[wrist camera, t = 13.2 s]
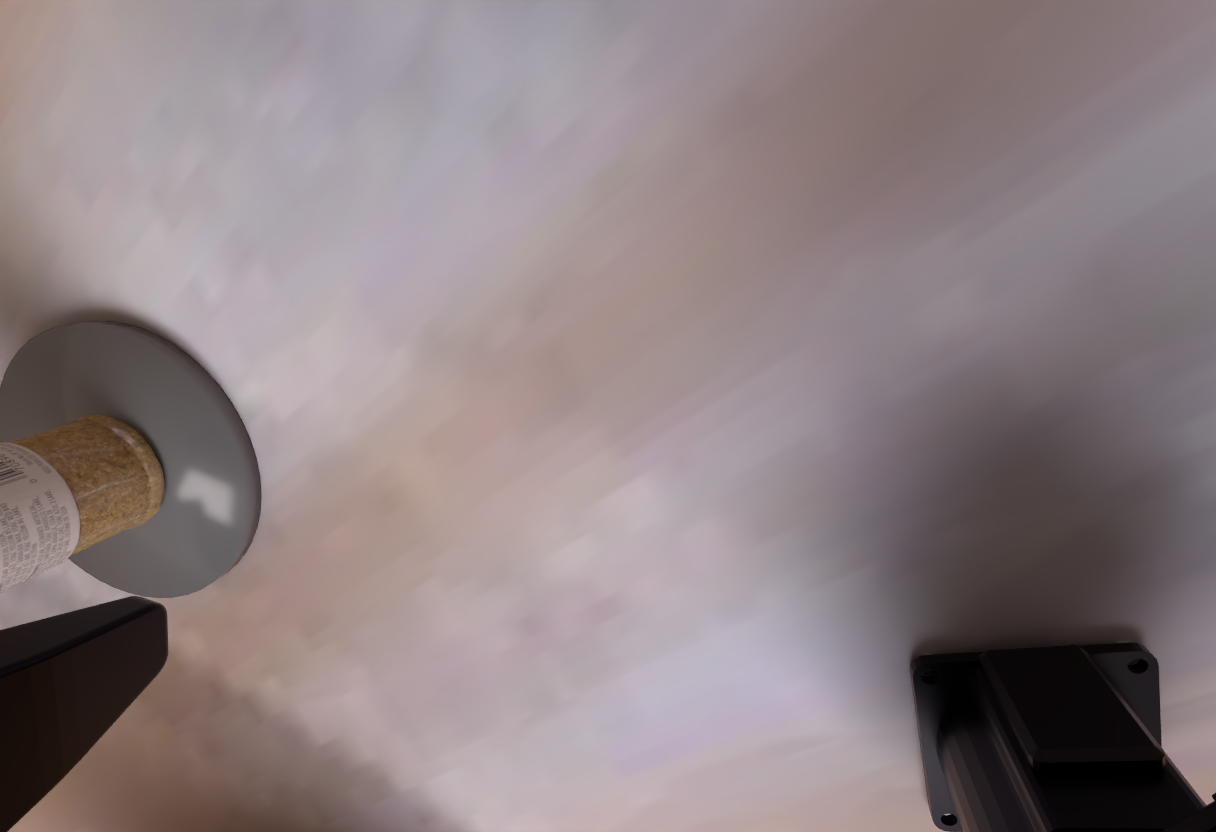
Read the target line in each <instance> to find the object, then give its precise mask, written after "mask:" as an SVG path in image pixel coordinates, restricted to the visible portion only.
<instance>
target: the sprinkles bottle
mask: <svg viewBox="0 0 1216 832" xmlns="http://www.w3.org/2000/svg"><path fill="white" fill-rule="evenodd" d="M163 494H164V478H163V471H162V468H161V465H160V463H159V461H158V459H157V458H156V456H155V454H154V452H153V450H152V448H151V447H150V445H149V444H148V443H147V442H146V441H145V440H144V438H143V437H142V436H141V435H140V434H139V433H138V432H137V431H136V430H134V429H133V428H132V427H130V426H129V425H127V424H125V423H123V422H122V421H118V420H116V419H114V418H112V417H108V416H102V415H87V416H84V417H81V418H78V419H74V420H72V421H70V422H69V423H68V424H66V425H64V426H61V427H58V428H55V429H52V430H48V431H44V432H40V433H37V434H34V435H31V436H28V437H24V438H21V439H17V440H13V441H9V442H7V443H6V442H3V443H0V593H1V592H3V591H5V590H7V589H9V588H11V587H13V586H15V585H17V584H19V583H21V582H23V581H25V580H27V579H29V578H32V577H34V576H36V575H38V574H40V573H42V572H44V571H46V570H48V569H50V568H52V567H54V566H56V565H58V564H60V563H62V562H63V561H65V560H66V559H67V558H68V557H70V556H71V555H73V554H76V553H78V552H80V551H82V550H84V549H86V548H88V547H90V546H92V545H94V544H96V543H98V542H100V541H103V540H105V539H106V538H108V537H111V536H113V535H115V534H117V533H119V532H121V531H123V530H126V529H131V528H135V527H137V526H140V525H142V524H144V523H145V522H147V521H148V520H149V519H151V518H152V517H153V516H154V515H155V514H156V513H157V512H158V511H159V509H160V506H161V501H162V498H163Z"/></svg>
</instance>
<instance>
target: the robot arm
mask: <svg viewBox="0 0 1216 832" xmlns="http://www.w3.org/2000/svg"><path fill="white" fill-rule="evenodd" d="M167 657H168V625H167V611H166V609H165V607H164V606H163V605H162V604H160V603H157V602H154V601H151V600H148V599H145V598H142V597H137V596H131V597H127V598H123V599H119V600H115V601H111V602H107V603H103V604H100V605H96V606H92V607H88V608H84V609H80V610H76V611H72V612H69V613H65V614H61V615H57V616H53V617H49V618H45V619H42V620H38V621H34V622H30V623H26V624H22V625H18V626H15V627H11V628H7V629H3V630H0V832H7V831H9V830H10V829H11V828H12V827H13V826H14V825H15V824H16V823H17V822H18V821H19V820H20V819H21V818H22V817H23V816H24V815H25V814H26V813H27V812H29V811H30V810H31V809H32V808H33V807H34V806H35V805H36V804H37V803H38V802H39V801H40V800H41V799H42V798H43V797H44V796H45V795H46V794H47V793H48V792H50V791H51V790H52V789H53V788H54V787H55V786H56V785H57V784H58V783H59V782H60V781H61V780H62V779H63V778H64V777H65V776H66V775H67V774H68V772H69V771H70V770H71V769H72V768H73V767H74V766H75V765H76V764H77V763H78V762H79V761H80V760H81V759H82V758H83V757H84V755H85V754H86V753H87V752H88V751H89V750H90V749H91V748H92V747H93V746H94V744H95V743H96V742H97V741H98V740H99V739H100V738H101V737H102V736H103V734H104V733H105V732H106V731H107V730H108V729H109V728H110V727H111V726H112V724H113V723H114V722H115V721H116V720H117V719H118V718H119V717H120V716H121V715H122V713H123V712H124V711H125V710H126V709H127V708H128V707H129V706H130V705H131V703H132V702H133V701H134V700H135V699H136V698H137V697H138V696H139V695H140V694H141V692H142V691H143V690H144V689H145V688H146V687H147V686H148V685H149V684H150V682H151V681H152V680H153V679H154V678H155V677H156V676H157V675H158V673H159V672H160V671H161V669H162V668H163V666H164V664H165V662H166V660H167ZM1137 658H1138V659H1140V661H1138V662H1137V663H1136V664H1133V665H1128V663H1129V662H1130V661H1131V660H1133V659H1137ZM928 670H931V671H935V673H934V674H933V675H930V676H925V675H922V674H923V673H924V672H925V671H928ZM910 674H911V681H912V688H913V695H914V702H915V709H916V717H917V724H918V731H919V738H920V745H921V752H922V759H923V766H924V773H925V780H926V787H927V795H928V802H929V809H930V812H931V816H932V819H933V822H934V824H935V825H936V826H937V827H938V828H939V829H941V830H944V831H949V832H1216V793H1215V794H1213V795H1212V797H1213V799H1214V802H1212V803H1210V804H1208V805H1207V806H1206V804H1205V803H1204V802H1203V801H1202V799H1201V798H1200V797H1199V795H1198V794H1197V793H1196V792H1195V790H1194V789H1193V788H1192V786H1191V785H1190V784H1189V783H1188V781H1187V780H1186V779H1185V777H1184V776H1183V775H1182V774H1181V772H1180V771H1179V770H1178V768H1177V767H1176V766H1175V765H1174V763H1173V762H1172V761H1171V760H1170V758H1169V757H1168V756H1167V754H1166V753H1165V752H1164V750H1163V749H1162V748H1161V721H1160V693H1159V666H1158V662H1157V659H1156V658H1155V657H1154V656H1153V655H1152V654H1151V653H1150V652H1149V651H1148V650H1147V649H1146V648H1145V647H1144V646H1143V645H1140V644H1138V643H1115V644H1099V645H1083V646H1076V645H1071V646H1055V647H1039V648H1023V649H1007V650H991V651H986V652H971V653H955V654H938V655H924V656H920V657H918V658H916V659H914V660H913V662H912V663H911V665H910ZM948 813H949V814H951V815H947V816H946V815H944V814H948Z"/></svg>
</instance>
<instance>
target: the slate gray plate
mask: <svg viewBox="0 0 1216 832" xmlns="http://www.w3.org/2000/svg"><path fill="white" fill-rule="evenodd" d="M87 415H102V416H108V417H112V418H114V419H116V420H118V421H122V422H123V423H125V424H127V425H129V426H130V427H132V428H133V429H134V430H136V431H137V432H138V433H139V434H140V435H141V436H142V437H143V438H144V440H145V441H146V442H147V443H148V444H149V445H150V447H151V448H152V450H153V452H154V454H155V456H156V458H157V459H158V461H159V463H160V465H161V468H162V471H163V478H164V494H163V498H162V501H161V506H160V509H159V511H158V512H157V513H156V514H155V515H154V516H153V517H152V518H151V519H149V520H148V521H147V522H145V523H144V524H142V525H140V526H137V527H135V528H131V529H126V530H123V531H121V532H119V533H117V534H115V535H113V536H111V537H108V538H106V539H105V540H103V541H100V542H98V543H96V544H94V545H92V546H90V547H88V548H86V549H84V550H82V551H80V552H78V553H76V554H73V555H71V556H70V557H68V558H69V559H70V560H71V561H72V562H73V563H75V564H76V565H77V566H79V567H80V568H81V569H83V570H84V571H85V572H87V573H89V574H90V575H92V576H93V577H95V578H97V579H98V580H100V581H102V582H104V583H106V584H108V585H110V586H112V587H114V588H117V589H120V590H123V591H125V592H128V593H132V594H136V595H140V596H145V597H155V598H171V597H178V596H183V595H188V594H190V593H193V592H196V591H198V590H201V589H202V588H204V587H206V586H207V585H209V584H211V583H212V582H214V581H215V580H217V579H218V578H220V577H221V576H223V575H224V574H226V573H227V572H228V571H230V570H231V569H232V568H233V567H234V566H235V565H236V564H237V563H238V562H239V561H240V560H241V558H242V557H243V556H244V555H245V553H246V552H247V550H248V548H249V546H250V544H251V542H252V541H253V538H254V535H255V532H256V529H257V526H258V521H259V516H260V508H261V487H260V476H259V471H258V466H257V461H256V457H255V454H254V451H253V448H252V445H251V441H250V439H249V437H248V434H247V432H246V430H245V428H244V425H243V423H242V421H241V419H240V417H239V416H238V414H237V412H236V410H235V409H234V407H233V405H232V404H231V402H230V401H229V399H228V398H227V397H226V395H225V394H224V392H223V391H222V390H221V388H220V387H219V386H218V385H217V383H216V382H215V381H214V380H213V379H212V378H211V376H210V375H209V374H208V373H207V372H206V371H205V370H204V369H203V368H202V367H201V366H200V365H199V364H198V363H196V362H195V361H194V360H193V359H192V358H191V357H190V356H188V355H187V354H186V353H184V352H183V351H182V350H180V349H179V348H178V347H176V346H175V345H173V344H172V343H170V342H168V341H167V340H165V339H163V338H162V337H160V336H158V335H156V334H153V333H151V332H149V331H147V330H144V329H142V328H139V327H135V326H132V325H128V324H125V323H118V322H111V321H91V322H84V323H77V324H70V325H65V326H59V327H55V328H52V329H50V330H47V331H44V332H42V333H40V334H39V335H37V336H35V337H34V338H32V339H31V340H29V341H28V342H27V343H26V344H25V345H24V346H23V347H22V348H21V349H20V350H19V351H18V352H17V354H16V355H15V356H14V358H13V359H12V360H11V362H10V364H9V366H8V368H7V370H6V372H5V374H4V377H3V380H2V384H1V387H0V443H3V442H6V443H7V442H9V441H13V440H17V439H21V438H24V437H28V436H31V435H34V434H37V433H40V432H44V431H48V430H52V429H55V428H58V427H61V426H64V425H66V424H68V423H69V422H70V421H72V420H74V419H78V418H81V417H84V416H87Z"/></svg>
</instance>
